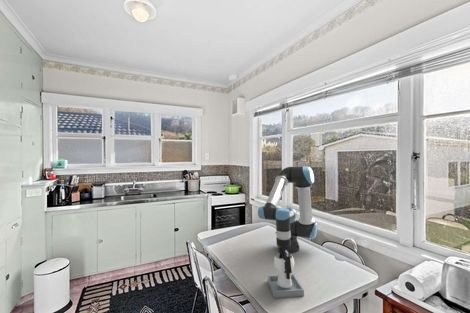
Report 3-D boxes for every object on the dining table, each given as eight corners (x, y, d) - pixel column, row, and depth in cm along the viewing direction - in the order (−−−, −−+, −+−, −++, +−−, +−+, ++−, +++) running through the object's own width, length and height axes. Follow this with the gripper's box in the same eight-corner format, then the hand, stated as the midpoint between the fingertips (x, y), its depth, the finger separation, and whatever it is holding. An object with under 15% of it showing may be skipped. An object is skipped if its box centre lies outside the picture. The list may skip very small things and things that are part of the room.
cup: (291, 278, 128) (290, 251, 128) (297, 289, 117) (296, 260, 117) (272, 279, 128) (272, 252, 128) (277, 290, 117) (276, 261, 117)
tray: (267, 281, 130) (267, 275, 130) (293, 279, 131) (293, 274, 131) (274, 298, 114) (274, 291, 114) (304, 295, 115) (303, 289, 115)
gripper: (271, 231, 134) (272, 268, 134) (282, 246, 111) (283, 291, 111) (284, 230, 134) (285, 267, 134) (297, 245, 111) (298, 290, 111)
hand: (284, 278), depth 122 cm, fingers closed on cup, 11 cm apart
